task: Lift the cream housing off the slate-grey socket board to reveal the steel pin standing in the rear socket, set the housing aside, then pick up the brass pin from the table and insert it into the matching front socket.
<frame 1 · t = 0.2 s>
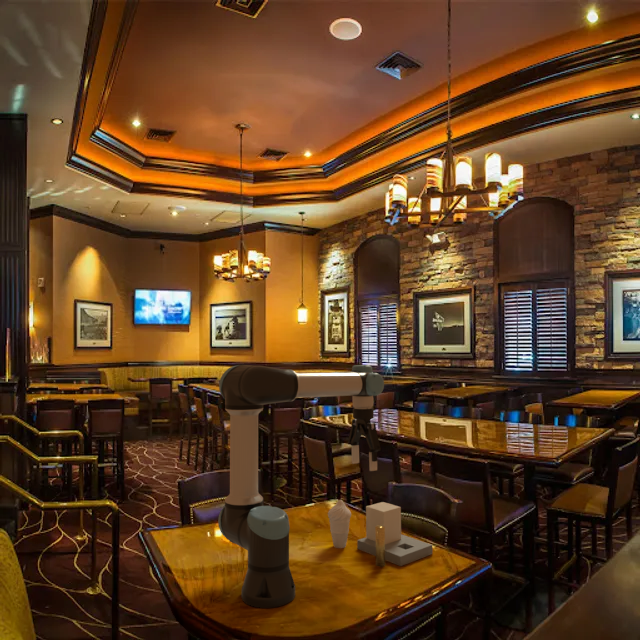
hand: (364, 466, 194), 27 cm above the table, fingers open, 13 cm apart
housing: (383, 538, 188), point 3 cm above the table, touching socket board
steel pin: (383, 547, 188), resting in socket board
brass pin: (380, 564, 173), on the table
socket board: (394, 551, 184), on the table
soft serve ice cream cone: (339, 546, 190), on the table
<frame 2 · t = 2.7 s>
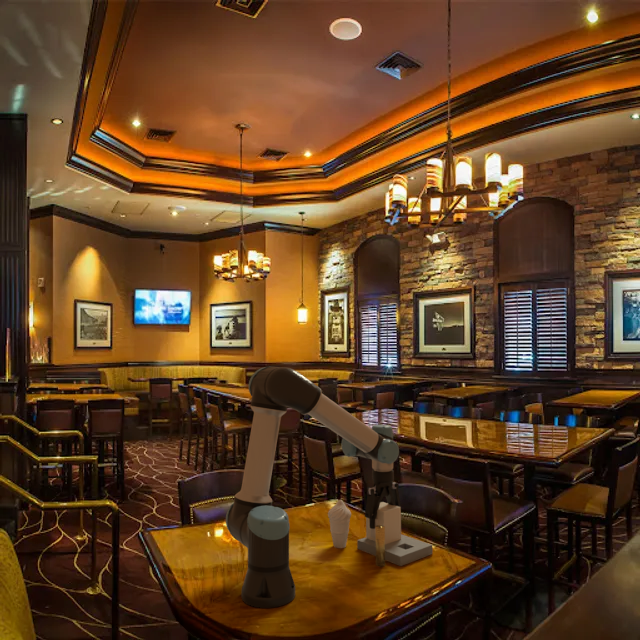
hand: (383, 534, 188), 4 cm above the table, fingers closed on housing, 9 cm apart
housing: (383, 538, 188), point 3 cm above the table, touching gripper, socket board
everything else where it was.
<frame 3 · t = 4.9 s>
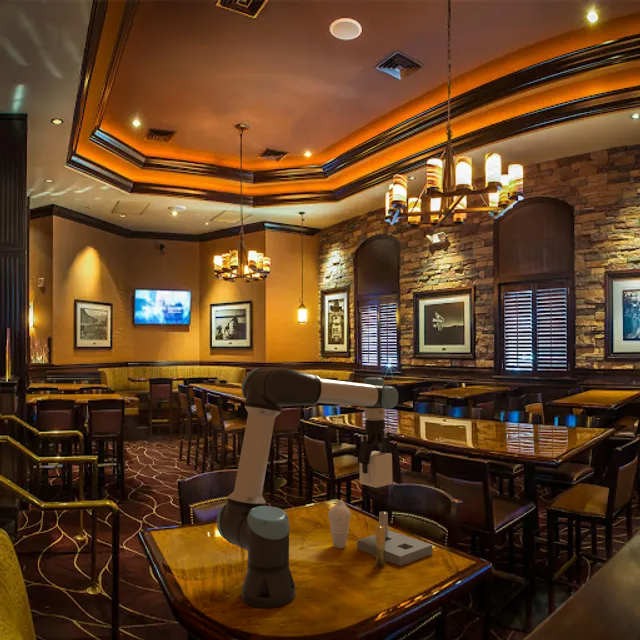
hand: (375, 479, 200), 21 cm above the table, fingers closed on housing, 9 cm apart
housing: (376, 483, 200), point 19 cm above the table, touching gripper
everything else where it was.
when the fingers open (3 cm above the table, at t = 7.4 s): housing drops 1 cm, on the table.
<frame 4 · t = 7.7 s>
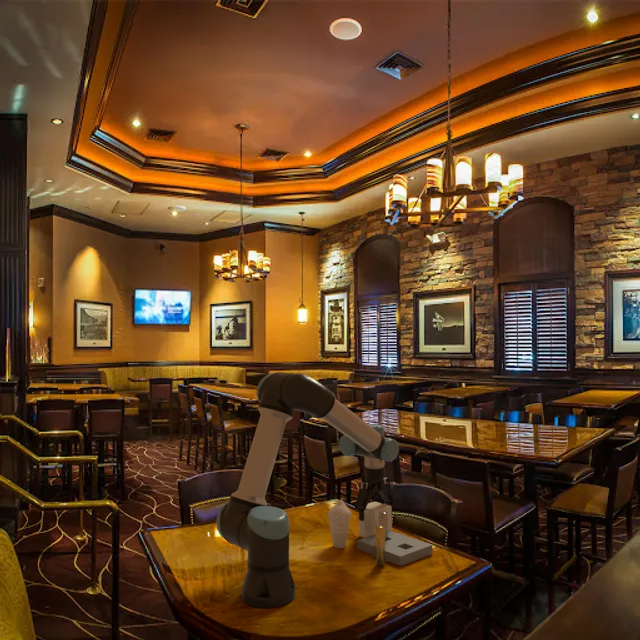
hand: (375, 525, 200), 4 cm above the table, fingers open, 12 cm apart
housing: (375, 536, 199), on the table
everything else where it was.
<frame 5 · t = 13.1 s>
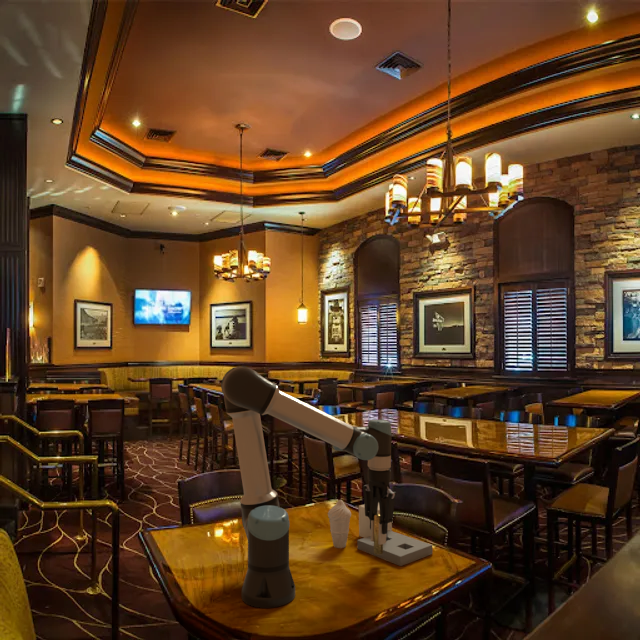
hand: (378, 541, 173), 7 cm above the table, fingers closed on brass pin, 3 cm apart
brass pin: (378, 552, 173), point 4 cm above the table, touching gripper
everything else where it was.
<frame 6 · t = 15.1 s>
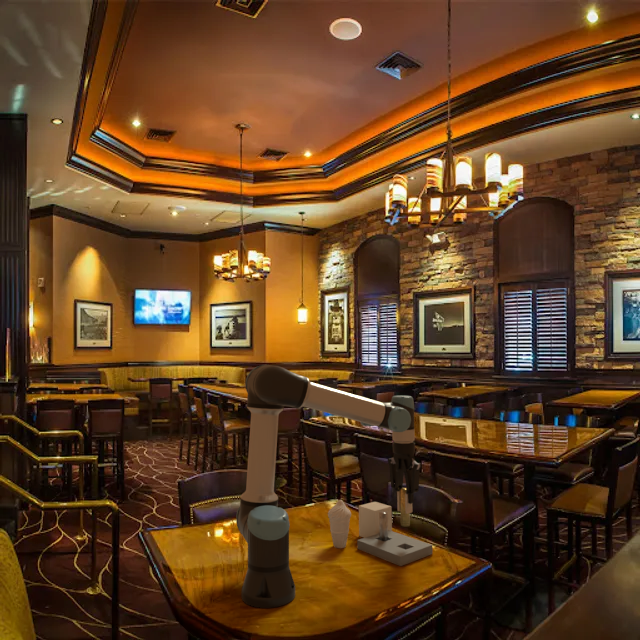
hand: (404, 511, 181), 15 cm above the table, fingers closed on brass pin, 3 cm apart
brass pin: (405, 525, 181), point 10 cm above the table, touching gripper
everything else where it was.
when the fingers open (4 cm above the table, at t = 17.5 s): brass pin stays where it is, resting in socket board.
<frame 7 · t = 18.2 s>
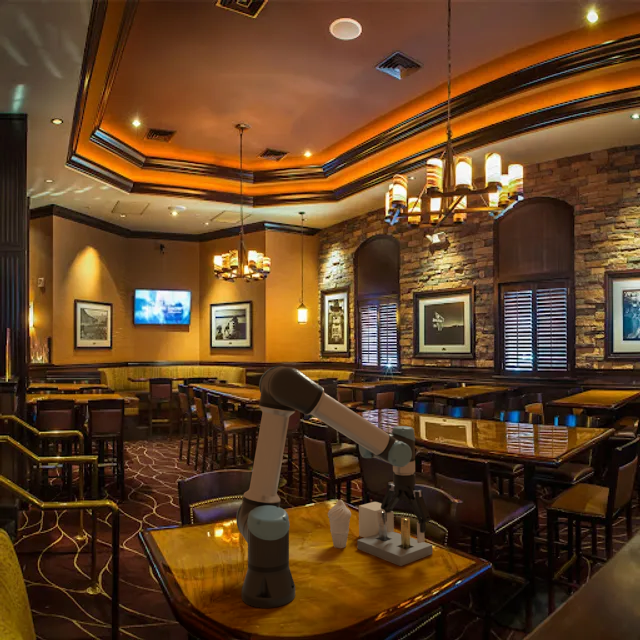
hand: (405, 536, 181), 6 cm above the table, fingers open, 13 cm apart
steel pin: (383, 547, 188), resting in socket board, touching gripper
brass pin: (405, 555, 180), resting in socket board
everything else where it was.
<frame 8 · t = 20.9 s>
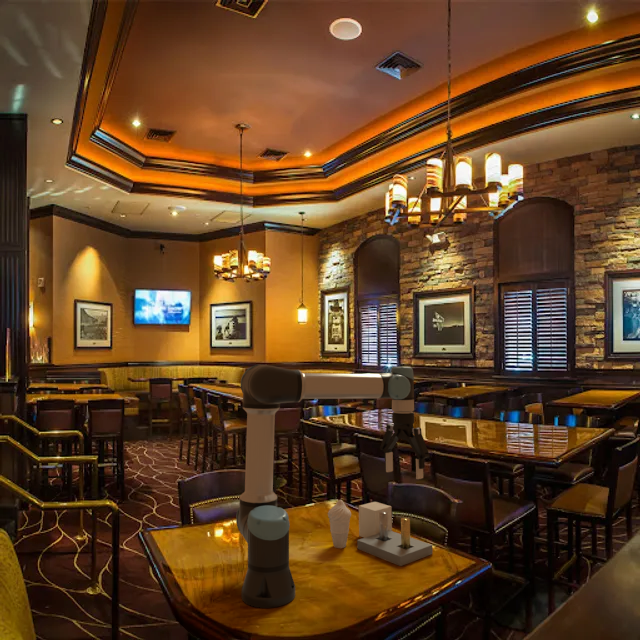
hand: (404, 475, 182), 27 cm above the table, fingers open, 13 cm apart
steel pin: (383, 547, 188), resting in socket board
everything else where it was.
at the end: brass pin 0.2 cm from the target spot on the socket board, point 0.0 cm above the socket board's base; brass pin tilted 0°; housing moved 12.0 cm from its start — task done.
